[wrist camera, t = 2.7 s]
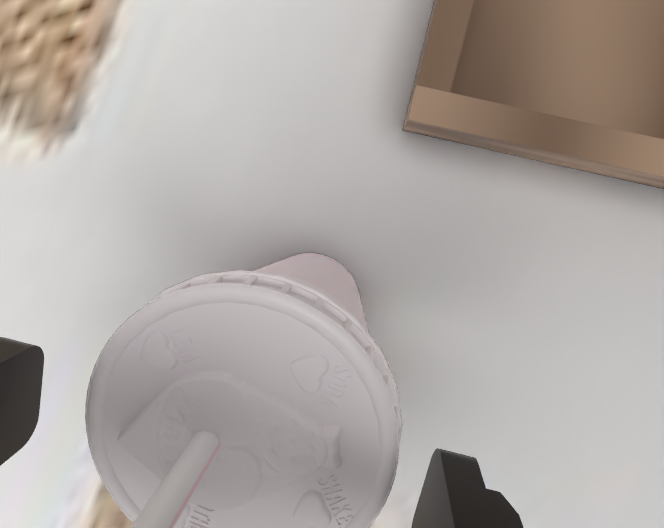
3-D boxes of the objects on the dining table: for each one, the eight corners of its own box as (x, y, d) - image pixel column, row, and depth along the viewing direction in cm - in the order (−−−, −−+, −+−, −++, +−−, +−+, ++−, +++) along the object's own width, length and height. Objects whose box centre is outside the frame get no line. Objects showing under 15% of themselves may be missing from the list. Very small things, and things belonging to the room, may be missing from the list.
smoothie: (224, 216, 19) (-203, 378, 5) (397, 216, 18) (422, 402, 5) (233, 376, 20) (-87, 834, 7) (395, 382, 20) (409, 907, 6)
